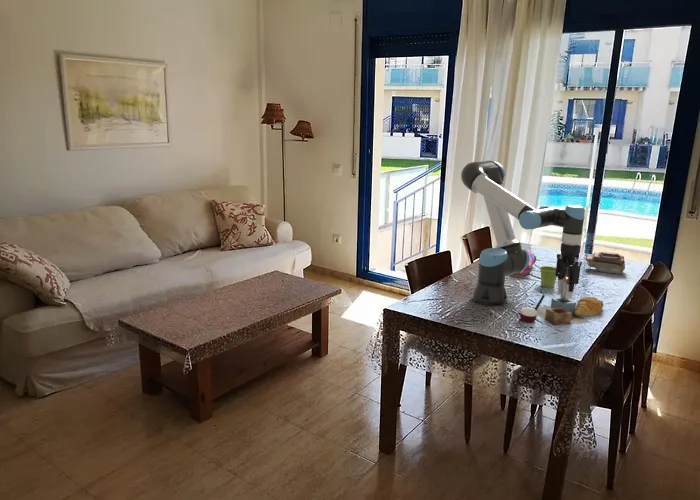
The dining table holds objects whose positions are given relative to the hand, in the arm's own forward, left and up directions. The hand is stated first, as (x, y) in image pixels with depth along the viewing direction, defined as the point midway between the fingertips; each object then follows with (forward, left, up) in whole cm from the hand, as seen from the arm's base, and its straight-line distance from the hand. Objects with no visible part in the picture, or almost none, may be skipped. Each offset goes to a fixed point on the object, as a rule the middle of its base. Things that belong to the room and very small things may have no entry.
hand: (564, 296), depth 225 cm
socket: (0, 0, -8) cm, 8 cm away
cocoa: (-20, -6, -8) cm, 22 cm away
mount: (-8, -8, -8) cm, 14 cm away
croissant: (+11, -2, -8) cm, 14 cm away
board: (-4, -3, -8) cm, 9 cm away
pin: (0, 0, -7) cm, 7 cm away
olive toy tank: (+60, +48, -8) cm, 78 cm away
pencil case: (+19, +59, -8) cm, 63 cm away
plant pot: (+16, +34, -8) cm, 38 cm away
